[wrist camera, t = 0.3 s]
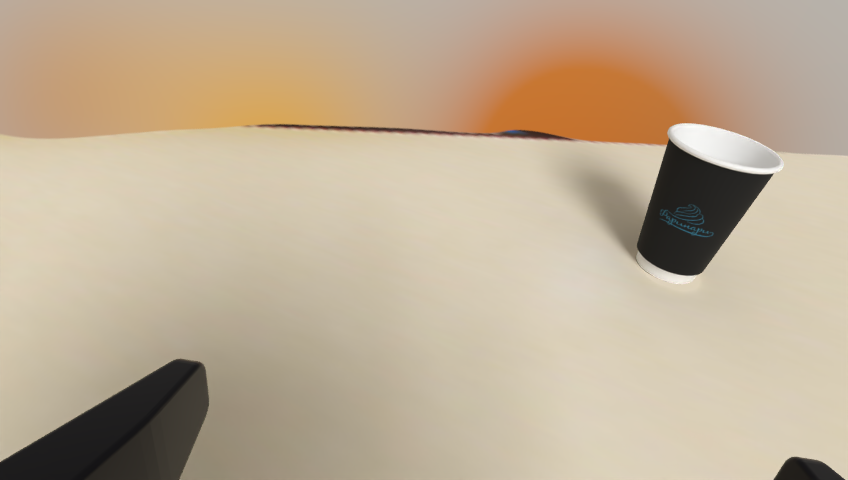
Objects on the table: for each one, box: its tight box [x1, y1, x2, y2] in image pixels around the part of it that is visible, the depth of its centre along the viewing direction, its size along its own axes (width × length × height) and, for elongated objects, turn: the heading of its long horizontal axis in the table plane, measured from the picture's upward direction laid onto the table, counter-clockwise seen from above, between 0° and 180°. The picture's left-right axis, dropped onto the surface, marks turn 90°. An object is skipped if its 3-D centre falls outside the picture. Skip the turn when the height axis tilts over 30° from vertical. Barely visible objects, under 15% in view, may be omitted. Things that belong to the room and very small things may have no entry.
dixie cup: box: [636, 123, 784, 284], centre depth 42 cm, size 8×8×11 cm
